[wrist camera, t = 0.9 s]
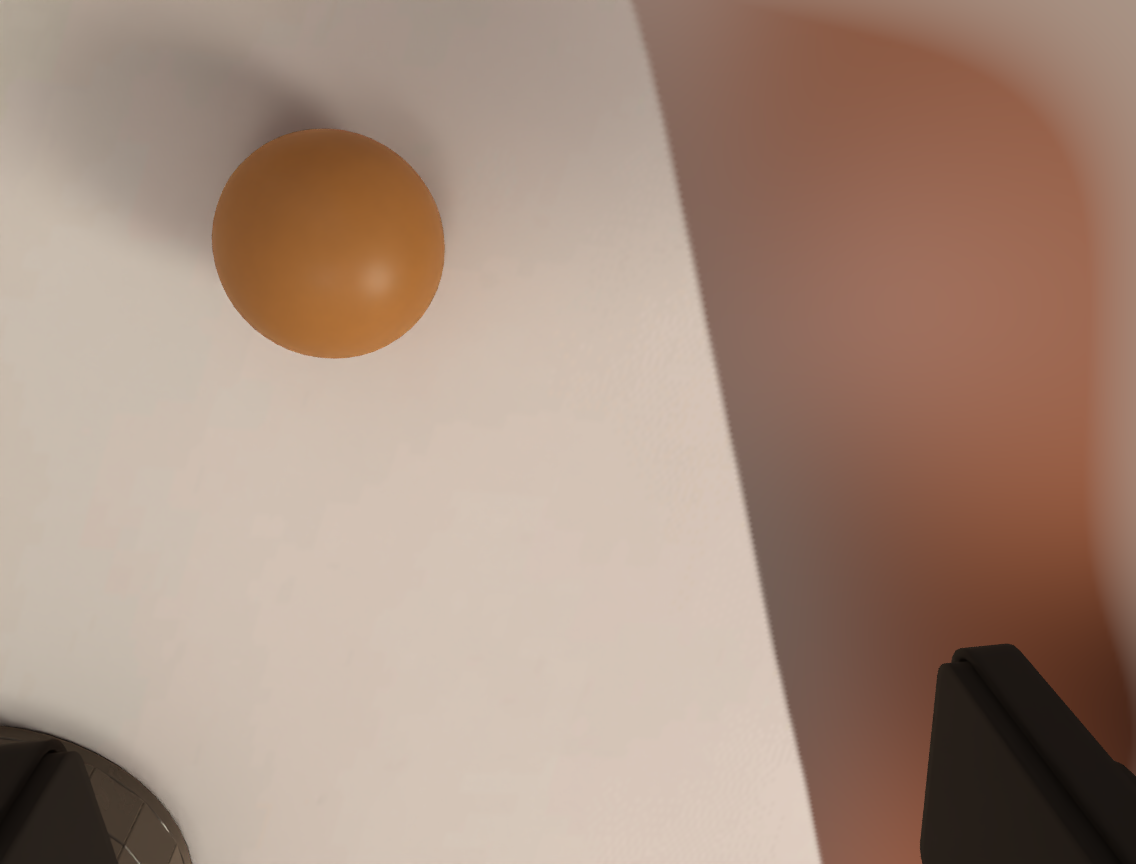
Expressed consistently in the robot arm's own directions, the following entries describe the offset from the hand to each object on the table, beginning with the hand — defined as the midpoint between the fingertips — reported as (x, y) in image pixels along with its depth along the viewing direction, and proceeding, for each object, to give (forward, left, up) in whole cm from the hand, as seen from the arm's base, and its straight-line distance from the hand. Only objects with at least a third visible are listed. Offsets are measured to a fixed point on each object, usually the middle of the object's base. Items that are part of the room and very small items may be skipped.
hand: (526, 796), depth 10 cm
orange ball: (-5, 0, -19) cm, 19 cm away
